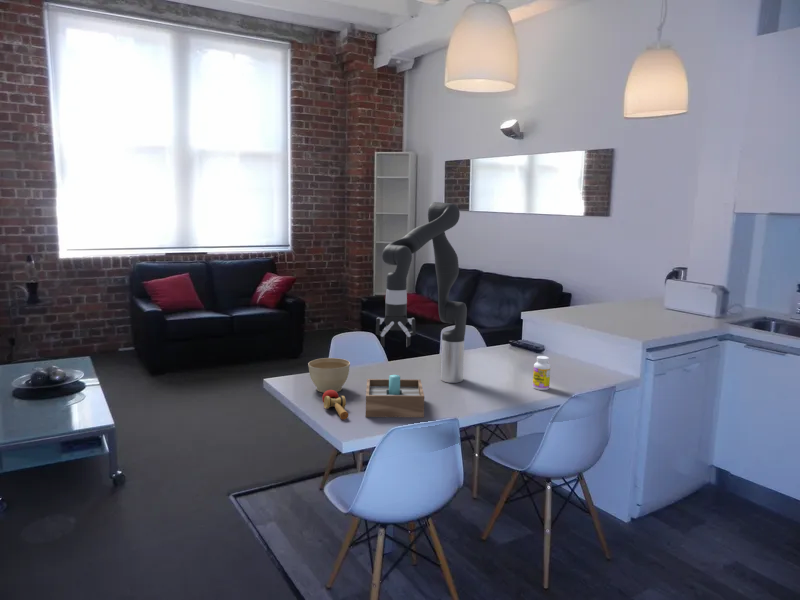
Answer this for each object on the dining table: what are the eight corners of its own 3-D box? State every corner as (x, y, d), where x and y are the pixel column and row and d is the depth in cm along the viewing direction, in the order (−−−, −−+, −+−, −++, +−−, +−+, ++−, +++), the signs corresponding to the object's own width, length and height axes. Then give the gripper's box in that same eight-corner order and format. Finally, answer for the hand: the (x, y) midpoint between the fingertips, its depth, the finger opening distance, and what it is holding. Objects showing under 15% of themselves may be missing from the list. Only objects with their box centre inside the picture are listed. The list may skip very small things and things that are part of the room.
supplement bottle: (529, 387, 242) (530, 356, 240) (538, 384, 247) (539, 354, 245) (543, 391, 237) (545, 360, 235) (552, 388, 242) (554, 357, 240)
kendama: (356, 421, 205) (339, 398, 220) (354, 405, 202) (337, 383, 218) (335, 428, 202) (319, 404, 217) (333, 411, 200) (317, 389, 215)
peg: (388, 403, 219) (389, 374, 217) (399, 403, 219) (400, 374, 217) (388, 407, 215) (389, 377, 213) (399, 407, 215) (400, 378, 214)
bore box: (366, 398, 225) (367, 378, 224) (420, 398, 225) (420, 379, 224) (365, 416, 205) (365, 395, 204) (423, 417, 206) (424, 396, 205)
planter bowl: (329, 381, 245) (330, 355, 244) (358, 389, 235) (358, 362, 233) (299, 390, 233) (299, 362, 231) (328, 399, 223) (328, 370, 221)
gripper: (415, 300, 215) (414, 344, 218) (376, 299, 215) (375, 343, 217) (416, 303, 208) (415, 349, 210) (375, 303, 207) (375, 348, 210)
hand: (395, 346), depth 214 cm, fingers open, 8 cm apart
